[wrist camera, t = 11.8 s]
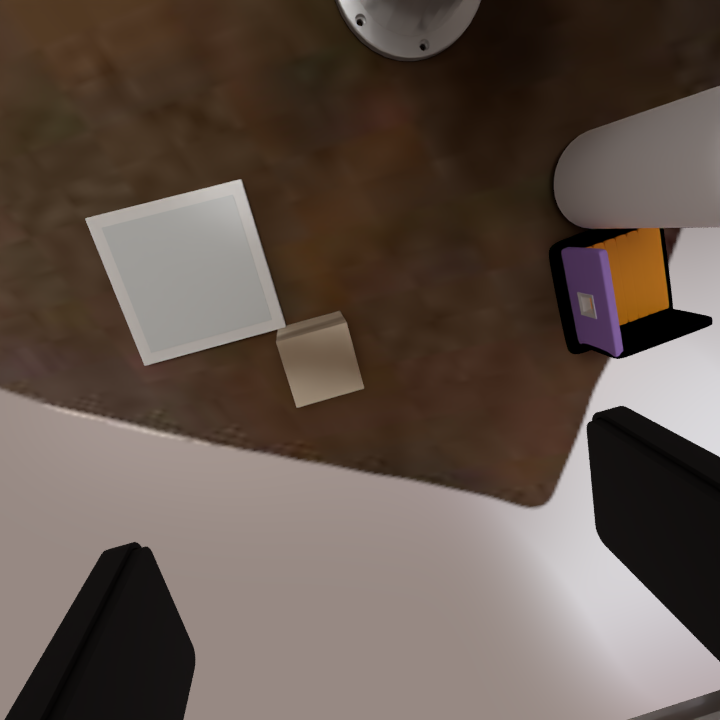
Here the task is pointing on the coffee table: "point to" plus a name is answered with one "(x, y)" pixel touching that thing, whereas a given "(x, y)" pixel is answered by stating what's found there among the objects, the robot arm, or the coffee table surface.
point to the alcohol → (646, 169)
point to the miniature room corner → (617, 292)
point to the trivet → (188, 271)
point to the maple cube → (319, 359)
